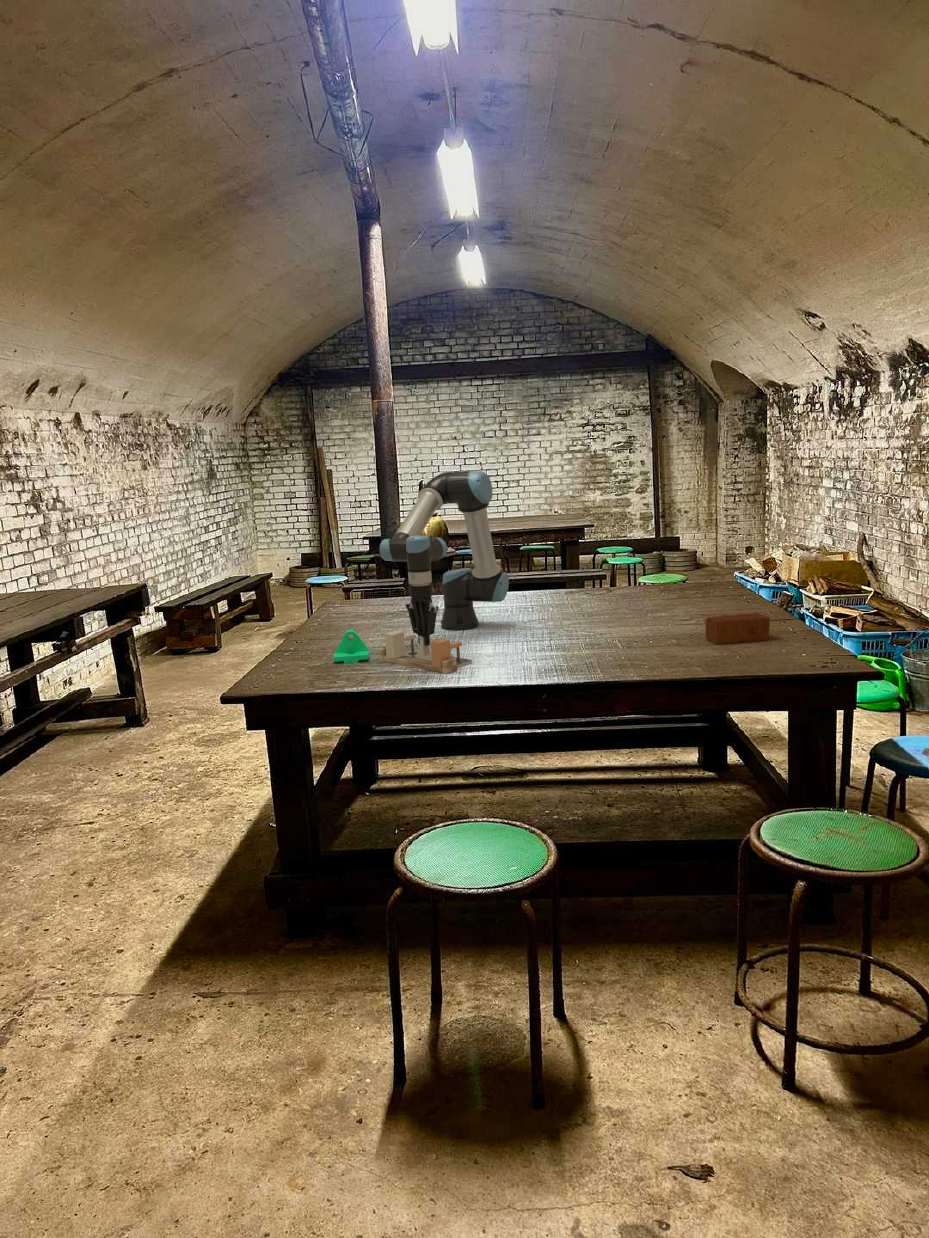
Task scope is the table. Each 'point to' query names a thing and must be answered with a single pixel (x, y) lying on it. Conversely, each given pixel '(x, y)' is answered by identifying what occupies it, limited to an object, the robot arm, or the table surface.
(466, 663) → the hole plate
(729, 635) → the brick
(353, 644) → the camera mount
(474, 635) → the table surface
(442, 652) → the slider leg
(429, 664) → the rail
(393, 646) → the fixed leg
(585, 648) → the table surface
